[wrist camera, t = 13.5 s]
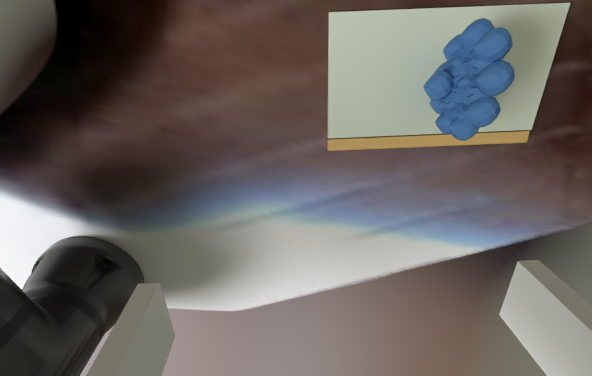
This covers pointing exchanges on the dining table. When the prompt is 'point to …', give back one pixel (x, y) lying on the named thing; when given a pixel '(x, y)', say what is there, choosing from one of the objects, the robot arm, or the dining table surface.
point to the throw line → (426, 140)
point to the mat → (429, 65)
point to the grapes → (471, 79)
